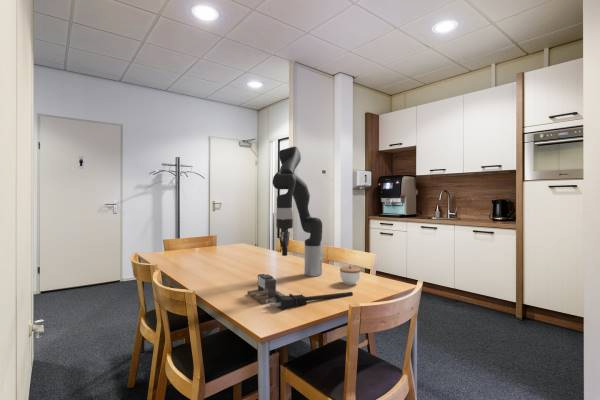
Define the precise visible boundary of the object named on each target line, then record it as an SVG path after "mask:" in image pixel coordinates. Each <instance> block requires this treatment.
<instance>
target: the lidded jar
mask: <svg viewBox="0 0 600 400" xmlns="http://www.w3.org/2000/svg"><path fill="white" fill-rule="evenodd" d="M361 271H362V270H361V268H360V267H358V266H352V265H348V266H342V267H340V268H339V275H340V278H341V279H340V280H341V281H342V282H343V283H344V284H345V285H347V286H353V285H356V284H357V283H358V282H359V281H360V277H361Z"/></svg>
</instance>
